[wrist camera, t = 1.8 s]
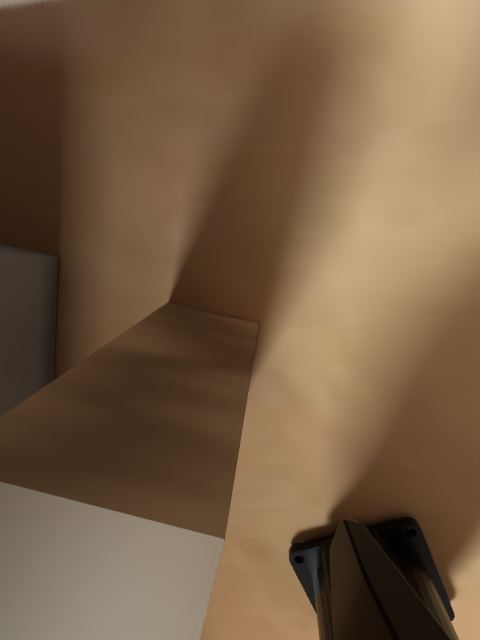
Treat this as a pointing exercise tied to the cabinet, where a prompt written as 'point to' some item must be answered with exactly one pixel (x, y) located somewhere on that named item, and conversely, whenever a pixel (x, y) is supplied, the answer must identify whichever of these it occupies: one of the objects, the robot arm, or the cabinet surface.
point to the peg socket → (26, 323)
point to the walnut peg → (124, 483)
